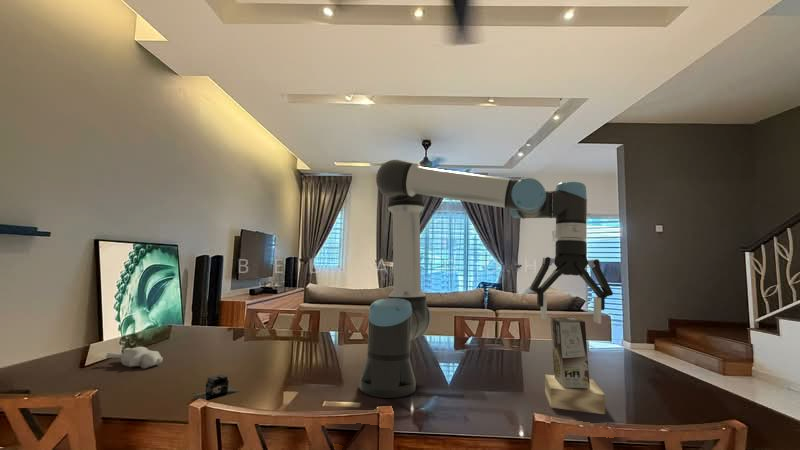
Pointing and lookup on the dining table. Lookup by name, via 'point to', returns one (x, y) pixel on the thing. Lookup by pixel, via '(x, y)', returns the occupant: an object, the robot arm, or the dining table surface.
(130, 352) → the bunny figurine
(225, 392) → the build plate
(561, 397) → the beech block
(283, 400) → the dining table surface
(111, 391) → the dining table surface
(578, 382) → the coffee box
